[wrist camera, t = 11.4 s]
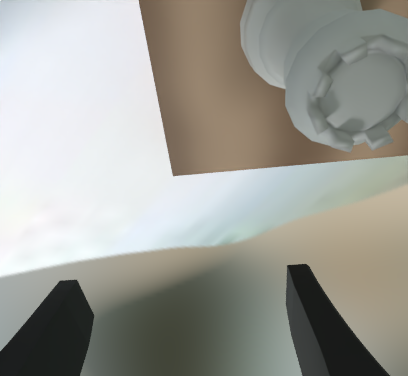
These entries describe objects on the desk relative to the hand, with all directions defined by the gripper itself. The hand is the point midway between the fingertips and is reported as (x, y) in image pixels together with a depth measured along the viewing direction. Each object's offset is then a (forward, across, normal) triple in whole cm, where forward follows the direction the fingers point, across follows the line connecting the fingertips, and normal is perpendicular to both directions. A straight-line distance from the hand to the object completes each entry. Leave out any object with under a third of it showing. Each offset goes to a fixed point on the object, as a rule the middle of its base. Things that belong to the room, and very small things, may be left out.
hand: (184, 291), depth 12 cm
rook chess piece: (+8, -5, -7) cm, 11 cm away
